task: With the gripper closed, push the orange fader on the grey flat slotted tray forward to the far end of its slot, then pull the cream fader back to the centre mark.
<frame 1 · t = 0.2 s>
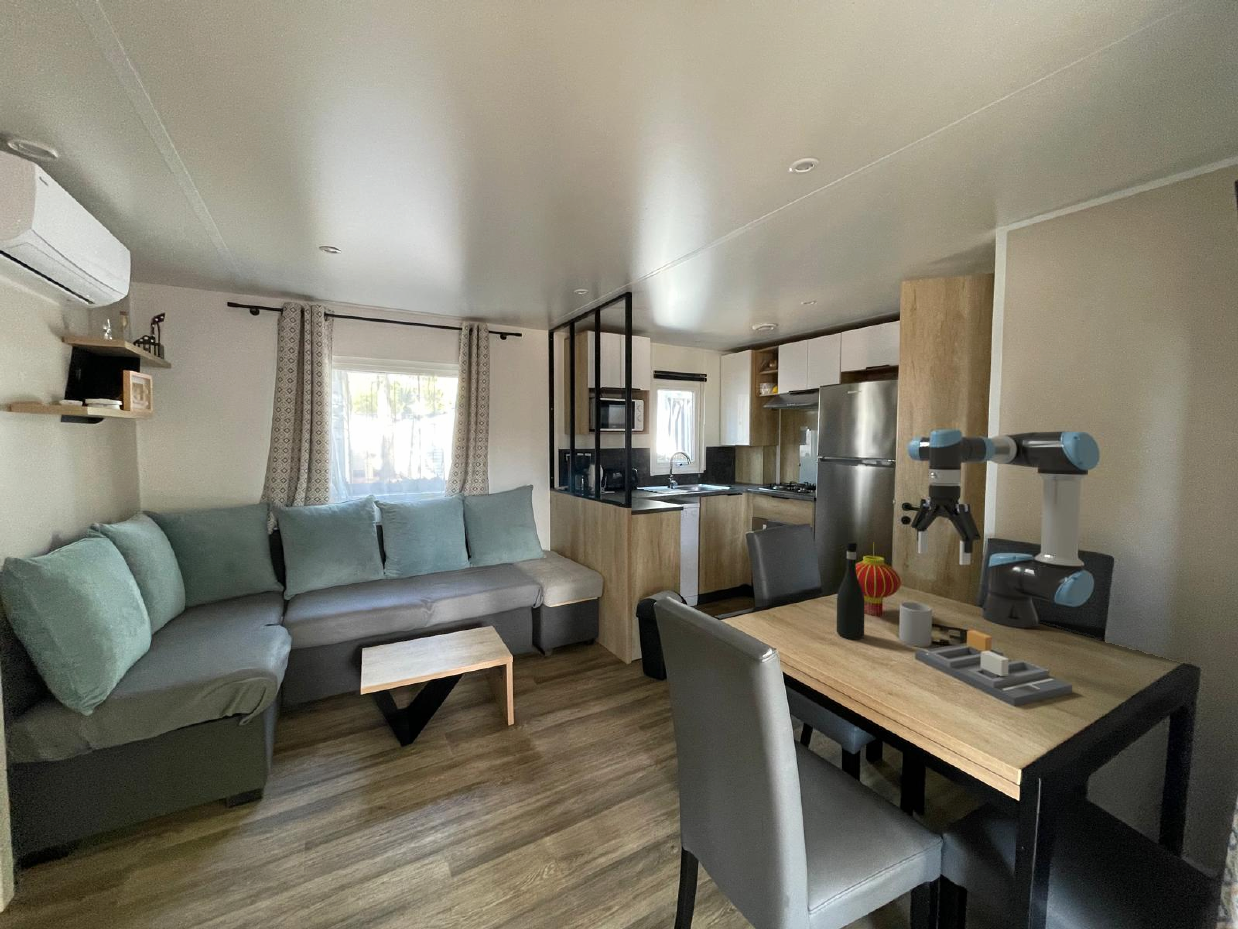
hand: (942, 558, 136), 28 cm above the table, fingers open, 13 cm apart
fader a: (979, 644, 133), point 5 cm above the table, slide at -5.0 cm
fader b: (994, 666, 120), point 5 cm above the table, slide at 5.0 cm
mug: (916, 640, 149), on the table
wine bottle: (850, 636, 152), on the table
lantern: (872, 613, 173), on the table
grey flat slotted tray: (987, 674, 126), on the table
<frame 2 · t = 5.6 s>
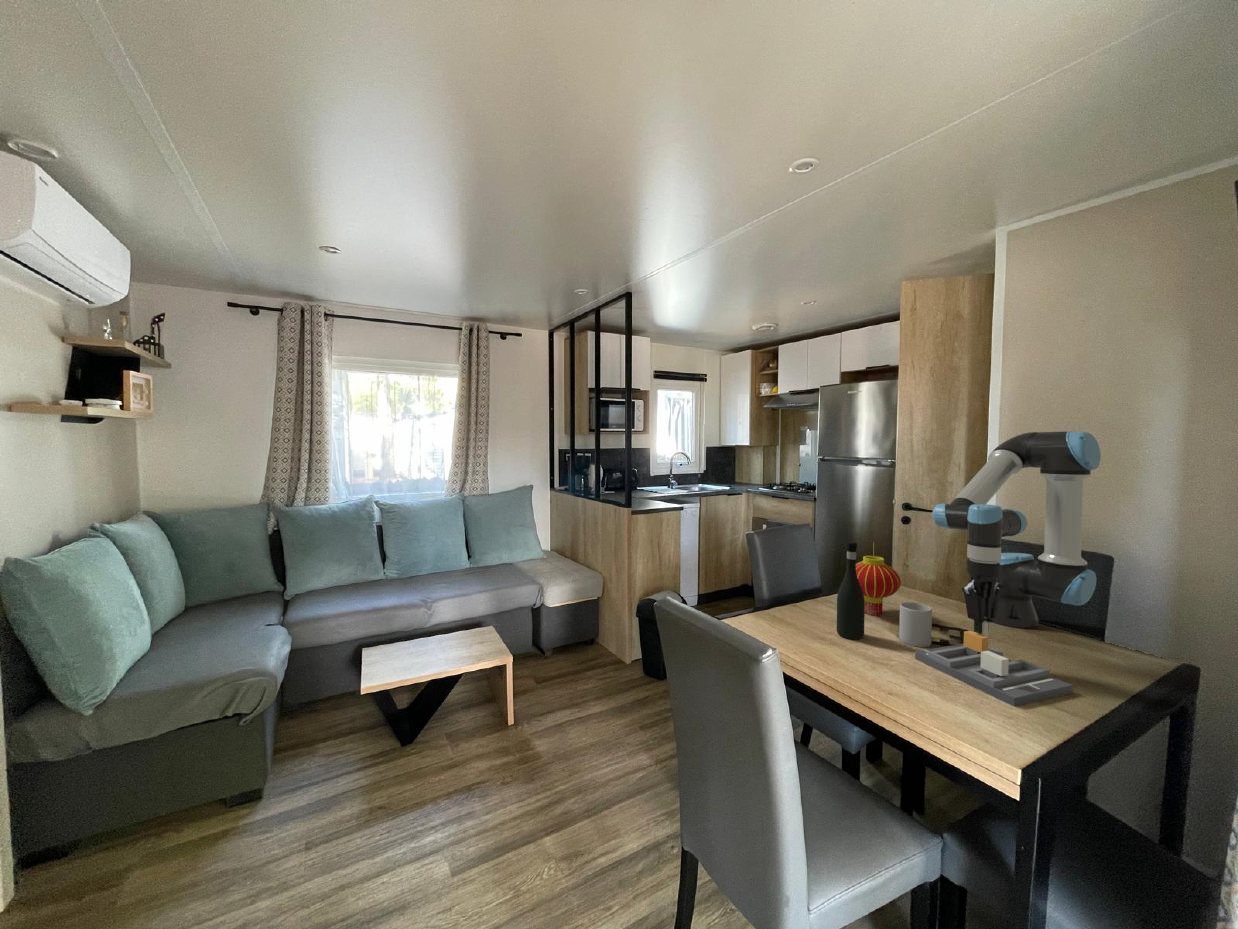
hand: (980, 643, 133), 5 cm above the table, fingers closed
fader a: (975, 644, 133), point 5 cm above the table, slide at -3.7 cm, touching gripper
everything else where it was.
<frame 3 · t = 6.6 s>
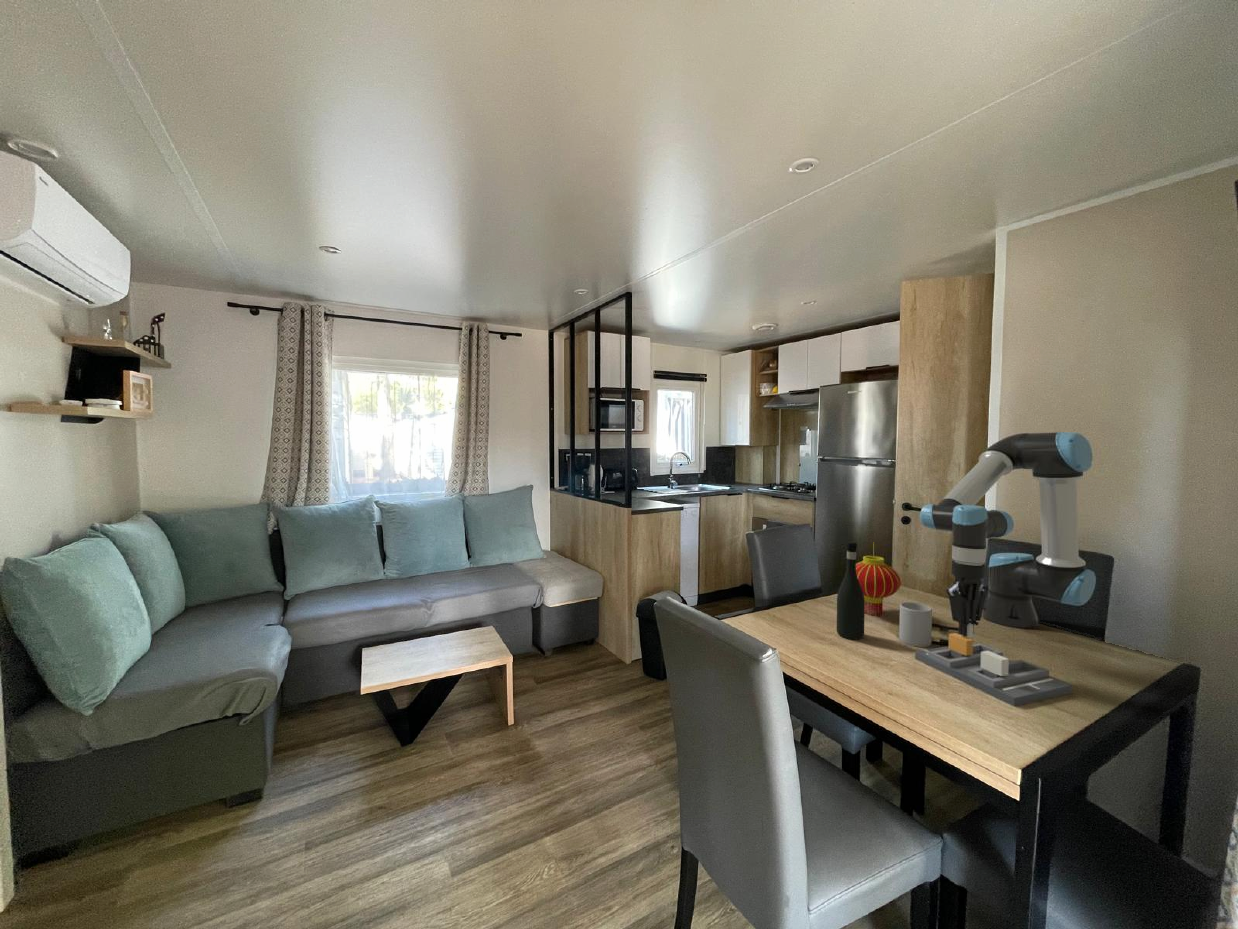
hand: (965, 646, 132), 5 cm above the table, fingers closed
fader a: (960, 647, 131), point 5 cm above the table, slide at 1.9 cm, touching gripper
everything else where it was.
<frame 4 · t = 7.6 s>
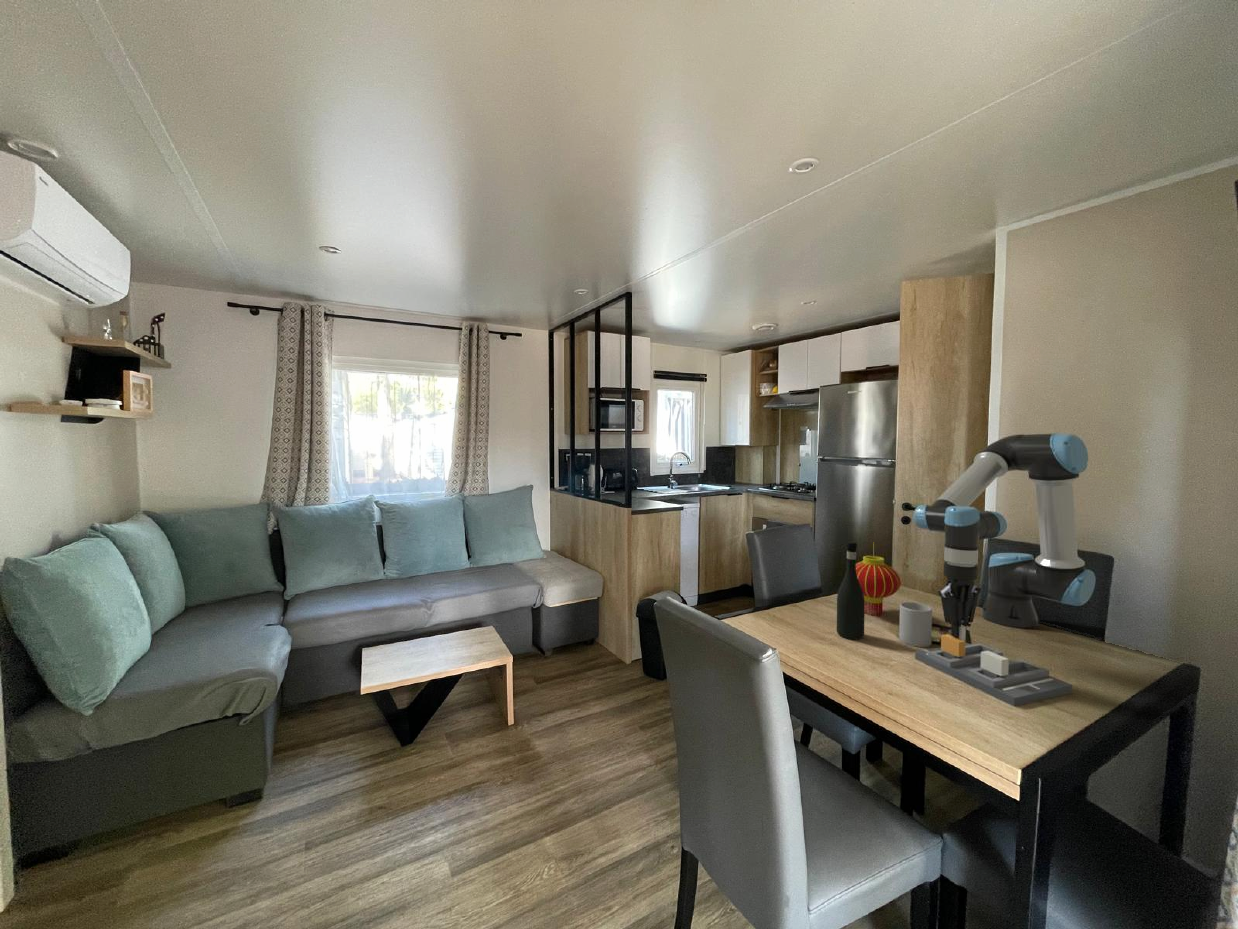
hand: (958, 648, 131), 5 cm above the table, fingers closed
fader a: (953, 648, 130), point 5 cm above the table, slide at 4.7 cm, touching gripper
everything else where it was.
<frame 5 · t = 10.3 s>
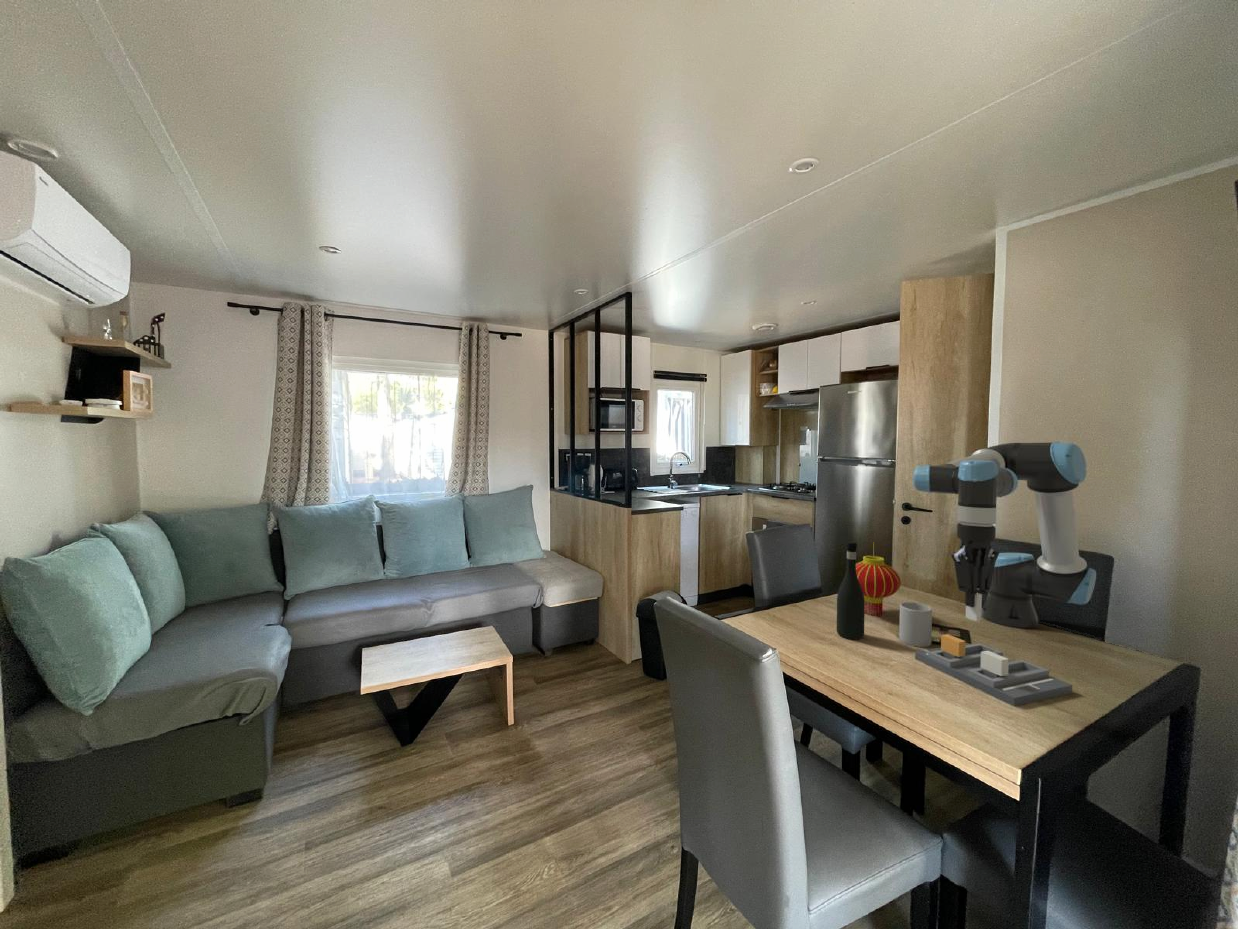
hand: (973, 619, 117), 18 cm above the table, fingers closed
fader a: (952, 648, 130), point 5 cm above the table, slide at 4.7 cm
everything else where it was.
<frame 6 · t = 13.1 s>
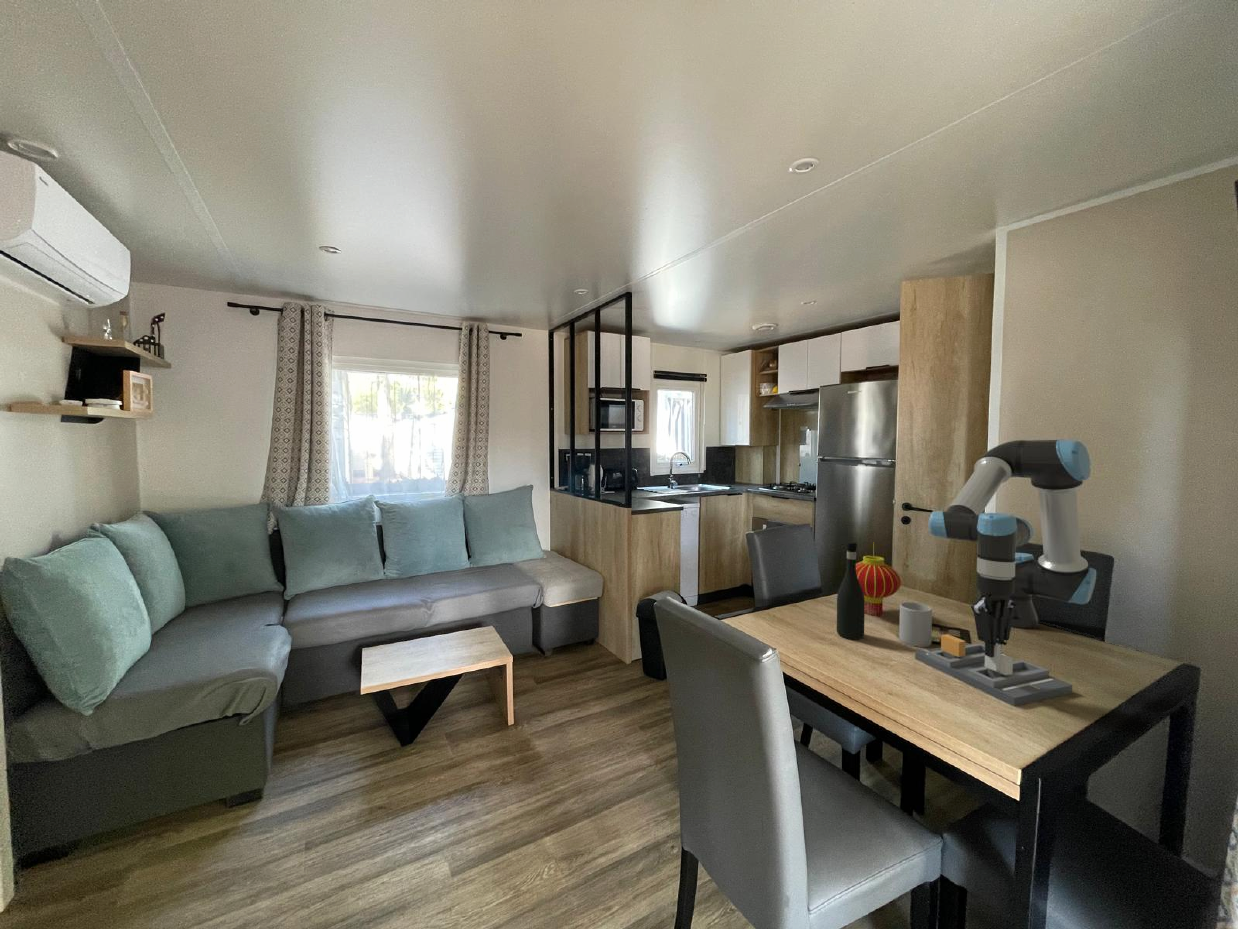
hand: (992, 668, 120), 5 cm above the table, fingers closed
fader b: (998, 665, 120), point 5 cm above the table, slide at 3.5 cm, touching gripper
everything else where it was.
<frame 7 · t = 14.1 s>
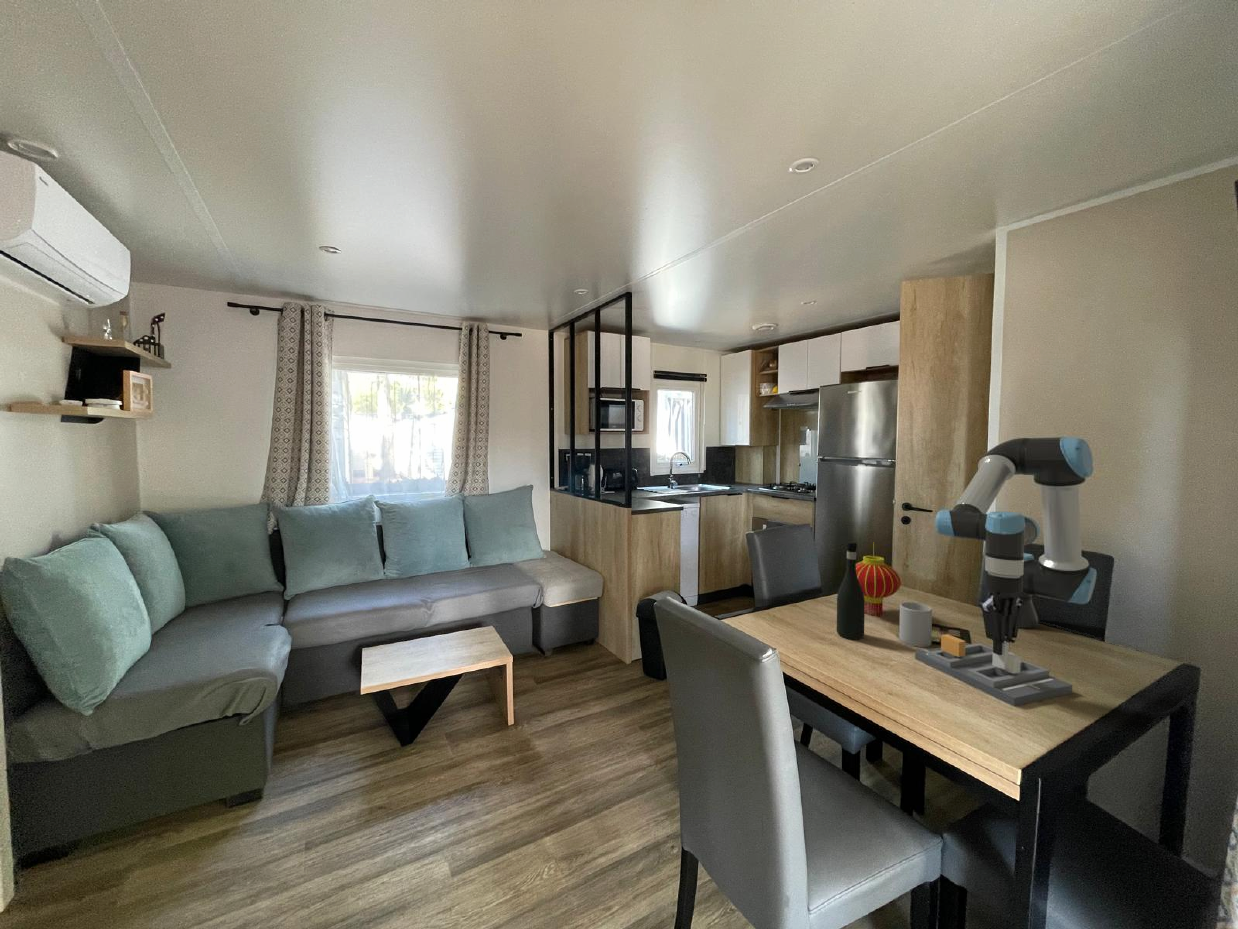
hand: (1000, 666, 121), 5 cm above the table, fingers closed
fader b: (1006, 664, 121), point 5 cm above the table, slide at 0.8 cm, touching gripper
everything else where it was.
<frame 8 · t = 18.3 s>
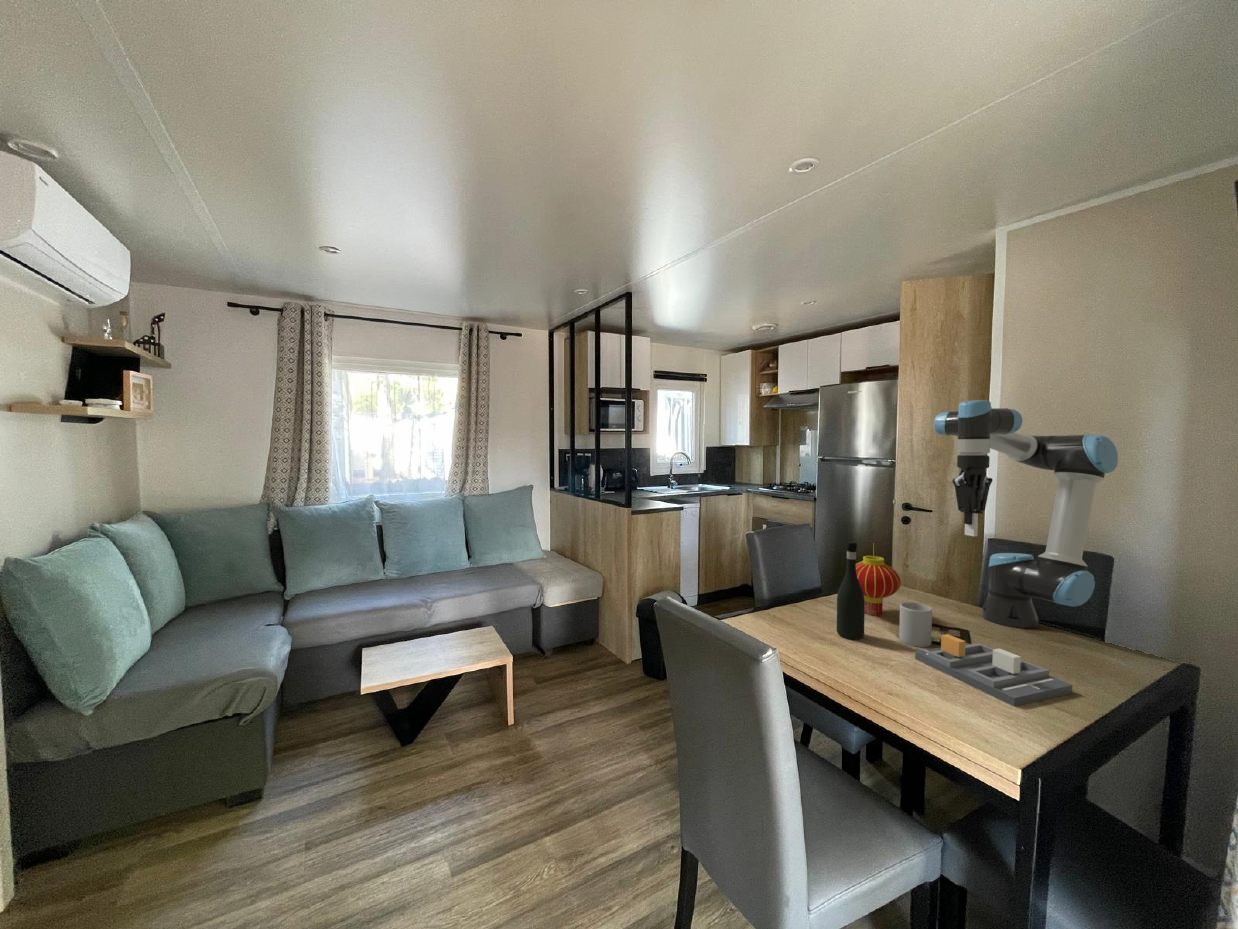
hand: (970, 535, 139), 34 cm above the table, fingers closed
fader b: (1006, 664, 121), point 5 cm above the table, slide at 0.8 cm
everything else where it was.
at the end: fader a slide at 4.7 cm; fader b slide at 0.8 cm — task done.
